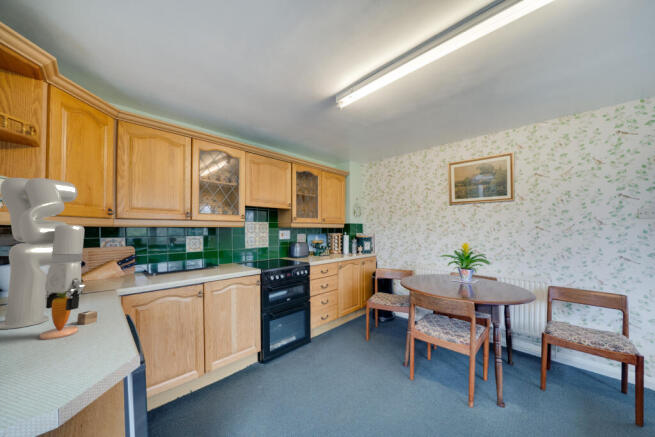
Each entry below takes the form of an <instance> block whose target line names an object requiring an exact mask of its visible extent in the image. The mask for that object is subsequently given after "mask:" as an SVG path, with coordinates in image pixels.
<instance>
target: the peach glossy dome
mask: <svg viewBox="0 0 655 437" xmlns="http://www.w3.org/2000/svg"><path fill="white" fill-rule="evenodd" d="M78 332H79V327H78V326H76V325H75V326H74V325H72V326H71V325H69V326H64V327H63V329H62V330H60V331H58V330H57V329H56V327H55V328H52V329H48V330H45V331H43V332H41V333H40V334H39V339H40V340H43V341H47V340H55V339H61V338H64V337H69V336H71V335H74V334H77V333H78Z"/></svg>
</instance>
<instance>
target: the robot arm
mask: <svg viewBox="0 0 655 437" xmlns="http://www.w3.org/2000/svg"><path fill="white" fill-rule="evenodd" d="M0 196H1V197H0V198H1V200H2V202H3V204H4V205H5V207H6V209H7V211H8V212H9V218H10V225H11V226H10V227H11V233H12V237H13V238H14V240H15V241H17V242H20V243H17V244H15V245H12V247H11V248H10V249H9V252H8V259H9V266H10V269H9V270H10V272H9V273H10V275H9V276H10V277H9V286H8V293H7V294H8V295H7V303H6V310H5V314H4V318H5V319H4V321H2V322H0V329H1V330H10V329H19V328H24V327H25V328H26V327H31V326H35V325H38V324H42V323H45V322H47V321H49V319H50V316H49V315H45V309H52V301H53V300H54V299H56V298H59V296H58V294H56V293H62V294H63V293H65V292H66V293H67V294H66V296H67V297H69V298H68V299H67V302H66V310H67V311H68V310H71V311H72V310H77V309H79V303H80V297H81V295H82V294H83V290H84V288H85V284H84V283H82V260H83V248H84V239H85V228H84V226H83V225H79V224H67V223H66V222H64V221H61V220H48V219H45V218H50V217H55V216H57V215H59V214H61V213H63V211H64V210H65V208H66V207H65V203H71V202H74V201H75V200H76V199H77V197H78V189H77V187H76V186H75V184H73V183H71V182H67V181H62V180H56V179H50V178H45V177H43V178H41V177H35V178H25V177H10V178H9V177H8V178H6V179H4V180H3V181H2V182H1V184H0ZM44 266H49V268H48V270H47V273H46V272H45V271H44V270H43V269H42V268H41V267H44Z"/></svg>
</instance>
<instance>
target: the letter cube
mask: <svg viewBox="0 0 655 437" xmlns="http://www.w3.org/2000/svg"><path fill="white" fill-rule="evenodd" d="M97 319H98V311H97V310H87V311H82V312H78V313H77V321H76V324H77V325H83V326H86V325H89V324H93V323H97Z"/></svg>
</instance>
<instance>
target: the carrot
mask: <svg viewBox="0 0 655 437" xmlns="http://www.w3.org/2000/svg"><path fill="white" fill-rule="evenodd" d="M56 294H58V296H59V298H56V299H54V300H53V301H52V308H51V318H52V319H51V320H52V323H53V325H54V327H55V328H56V329H57V330H58V331H60V330H62V329H63V327H66V326H65V325H67V323H68V320H69V318H70V314H71V311H72V310H68V311H67V310H66V302H67V299H68V298H69V297H68V296H67V293H66V292H65V293H56Z"/></svg>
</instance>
